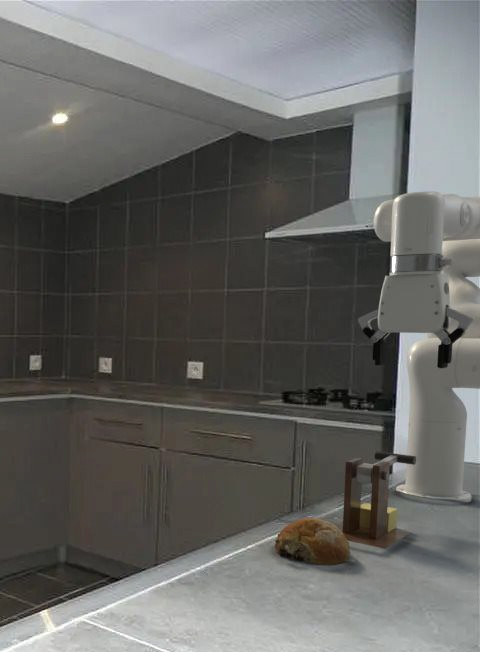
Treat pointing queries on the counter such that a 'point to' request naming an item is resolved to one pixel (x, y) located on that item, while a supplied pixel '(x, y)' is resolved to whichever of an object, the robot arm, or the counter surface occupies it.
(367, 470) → the arm
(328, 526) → the bread roll
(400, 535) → the cutter
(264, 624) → the counter surface
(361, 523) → the butter
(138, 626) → the counter surface
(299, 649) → the counter surface
